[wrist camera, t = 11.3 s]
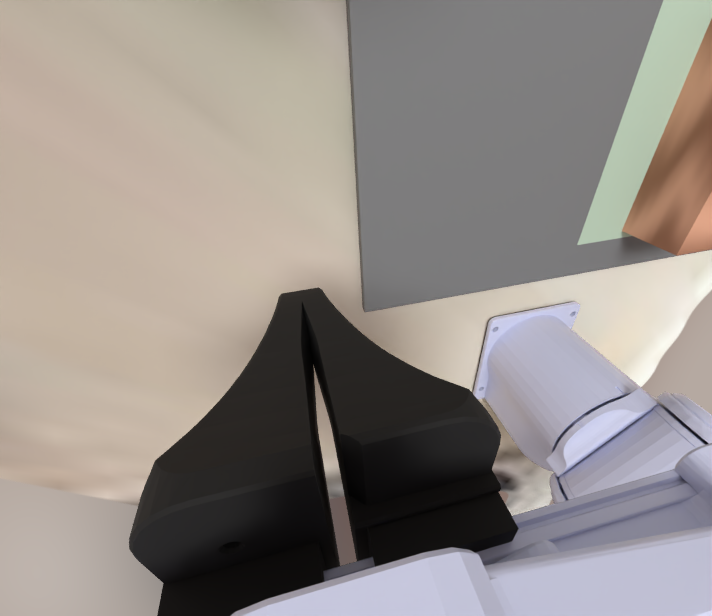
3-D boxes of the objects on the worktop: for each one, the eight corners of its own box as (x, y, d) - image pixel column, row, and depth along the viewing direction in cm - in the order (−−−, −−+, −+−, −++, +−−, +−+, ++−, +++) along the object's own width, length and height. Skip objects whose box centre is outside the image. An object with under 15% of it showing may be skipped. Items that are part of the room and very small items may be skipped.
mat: (711, 245, 28) (719, 248, 28) (362, 307, 24) (364, 312, 23) (905, -77, 18) (923, -81, 17) (342, -72, 13) (345, -77, 13)
